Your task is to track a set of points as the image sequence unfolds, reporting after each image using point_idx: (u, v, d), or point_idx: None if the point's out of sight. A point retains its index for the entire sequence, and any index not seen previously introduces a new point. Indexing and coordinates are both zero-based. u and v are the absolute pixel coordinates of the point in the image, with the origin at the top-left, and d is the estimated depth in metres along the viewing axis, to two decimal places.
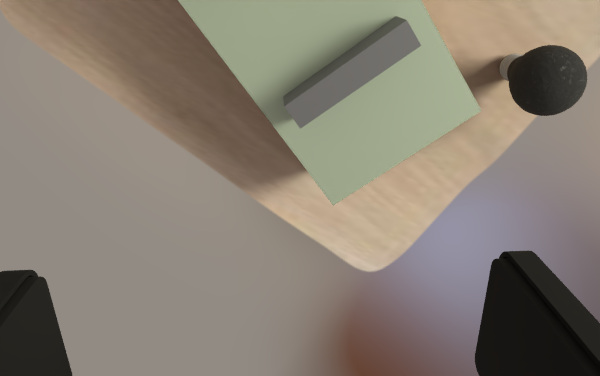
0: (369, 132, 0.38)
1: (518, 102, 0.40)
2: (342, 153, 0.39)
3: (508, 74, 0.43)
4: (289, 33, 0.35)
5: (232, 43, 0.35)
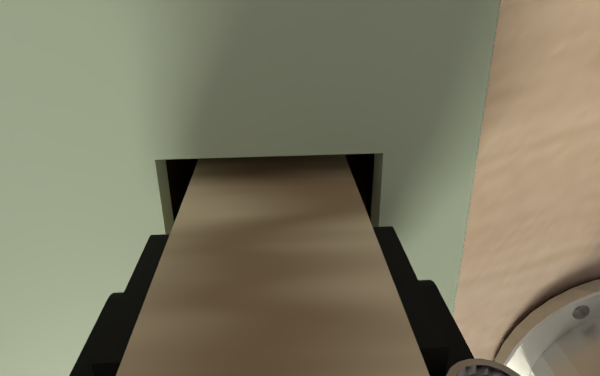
0: None
1: None
2: None
3: None
4: None
5: None
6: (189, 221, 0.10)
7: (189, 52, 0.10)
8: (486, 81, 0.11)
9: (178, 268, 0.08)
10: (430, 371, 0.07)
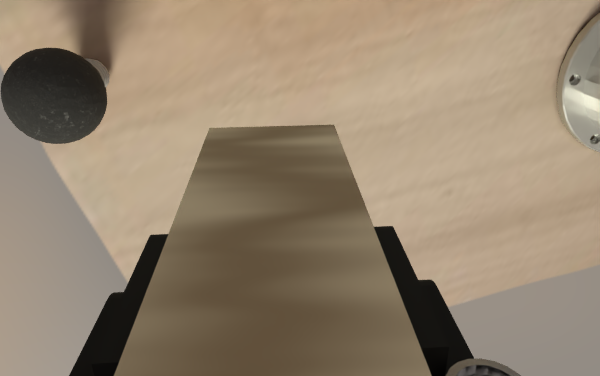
0: None
1: (41, 49, 0.27)
2: None
3: None
4: None
5: None
6: (189, 219, 0.10)
7: None
8: None
9: (178, 265, 0.08)
10: (430, 371, 0.07)
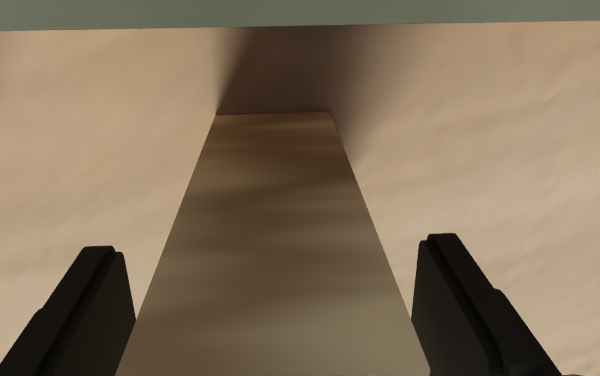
0: None
1: None
2: None
3: None
4: None
5: None
6: (199, 188, 0.11)
7: None
8: None
9: (192, 223, 0.10)
10: None
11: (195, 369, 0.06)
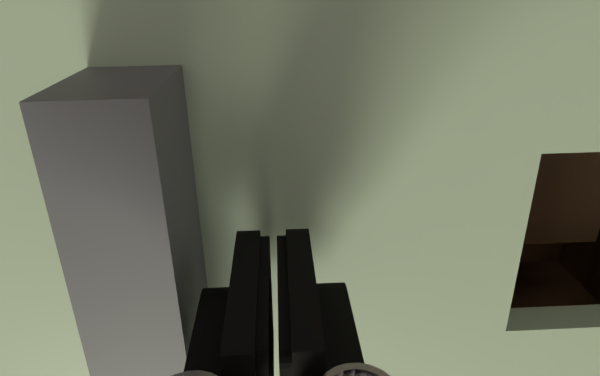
0: None
1: None
2: None
3: None
4: (339, 188, 0.12)
5: (428, 24, 0.10)
6: None
7: None
8: None
9: None
10: (309, 375, 0.07)
11: None
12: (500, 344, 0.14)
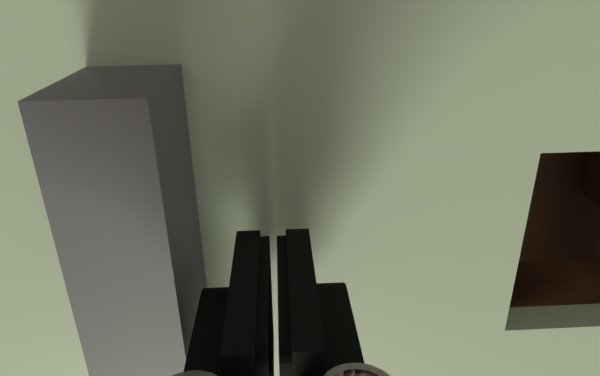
0: None
1: None
2: None
3: None
4: (339, 188, 0.12)
5: (427, 23, 0.10)
6: None
7: None
8: None
9: None
10: (309, 375, 0.07)
11: None
12: (499, 344, 0.14)
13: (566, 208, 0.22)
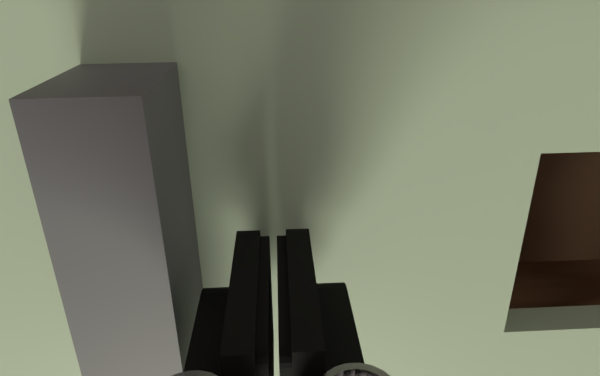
0: None
1: None
2: None
3: None
4: (337, 188, 0.12)
5: (427, 21, 0.10)
6: None
7: None
8: None
9: None
10: (309, 375, 0.07)
11: None
12: (498, 345, 0.14)
13: None
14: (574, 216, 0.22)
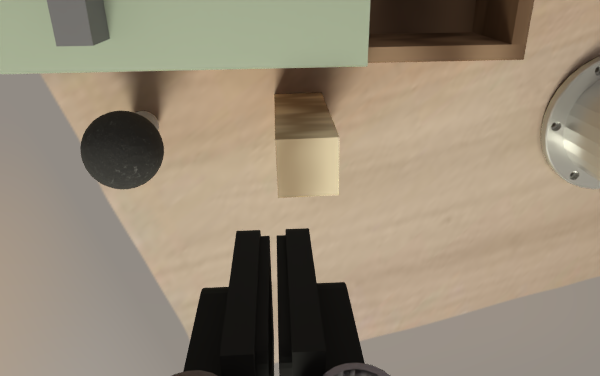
0: None
1: (113, 114, 0.33)
2: None
3: None
4: None
5: None
6: (278, 113, 0.35)
7: None
8: None
9: (280, 120, 0.34)
10: (309, 375, 0.07)
11: (291, 138, 0.30)
12: (244, 7, 0.29)
13: None
14: None
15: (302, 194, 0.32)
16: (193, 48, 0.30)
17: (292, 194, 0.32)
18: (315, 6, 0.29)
